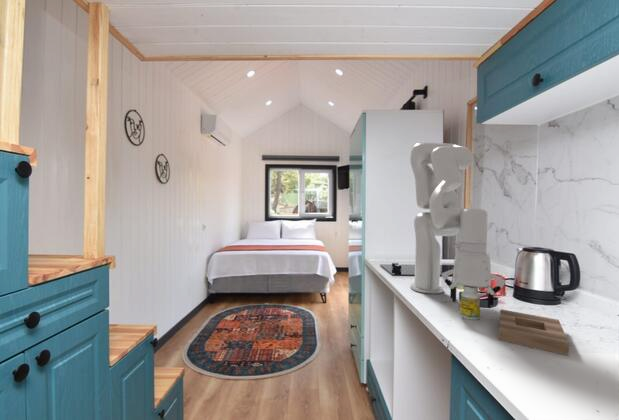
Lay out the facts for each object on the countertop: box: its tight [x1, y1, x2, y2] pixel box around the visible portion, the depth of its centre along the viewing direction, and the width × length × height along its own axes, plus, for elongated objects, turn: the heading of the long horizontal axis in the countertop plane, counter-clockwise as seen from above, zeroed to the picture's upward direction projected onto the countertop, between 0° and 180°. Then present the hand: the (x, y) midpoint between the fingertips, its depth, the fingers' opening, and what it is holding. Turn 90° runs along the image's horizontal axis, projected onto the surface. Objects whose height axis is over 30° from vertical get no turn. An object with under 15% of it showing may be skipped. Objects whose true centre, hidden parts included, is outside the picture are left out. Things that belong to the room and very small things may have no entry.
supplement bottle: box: [459, 285, 481, 321], centre depth 96 cm, size 5×5×10 cm
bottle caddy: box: [498, 309, 570, 356], centre depth 83 cm, size 18×14×3 cm
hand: (471, 303), depth 95 cm, fingers open, 9 cm apart
